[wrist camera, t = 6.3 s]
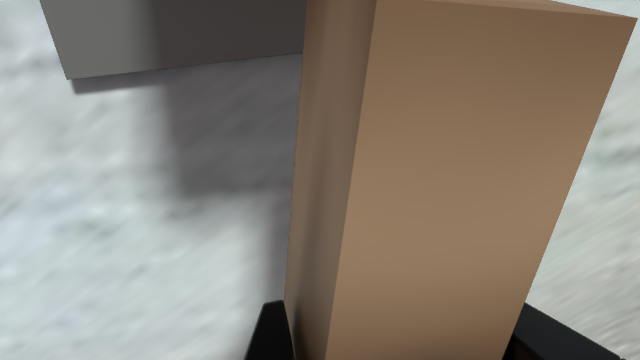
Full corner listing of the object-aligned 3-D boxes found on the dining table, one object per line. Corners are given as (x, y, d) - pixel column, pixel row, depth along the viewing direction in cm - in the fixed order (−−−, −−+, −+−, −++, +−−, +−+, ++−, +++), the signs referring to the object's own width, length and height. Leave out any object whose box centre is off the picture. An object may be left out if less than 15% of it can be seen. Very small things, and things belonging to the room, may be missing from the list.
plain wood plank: (374, 422, 13) (420, 562, 10) (273, 436, 13) (291, 591, 10) (477, -15, 8) (638, 17, 5) (310, -31, 7) (377, -4, 4)
